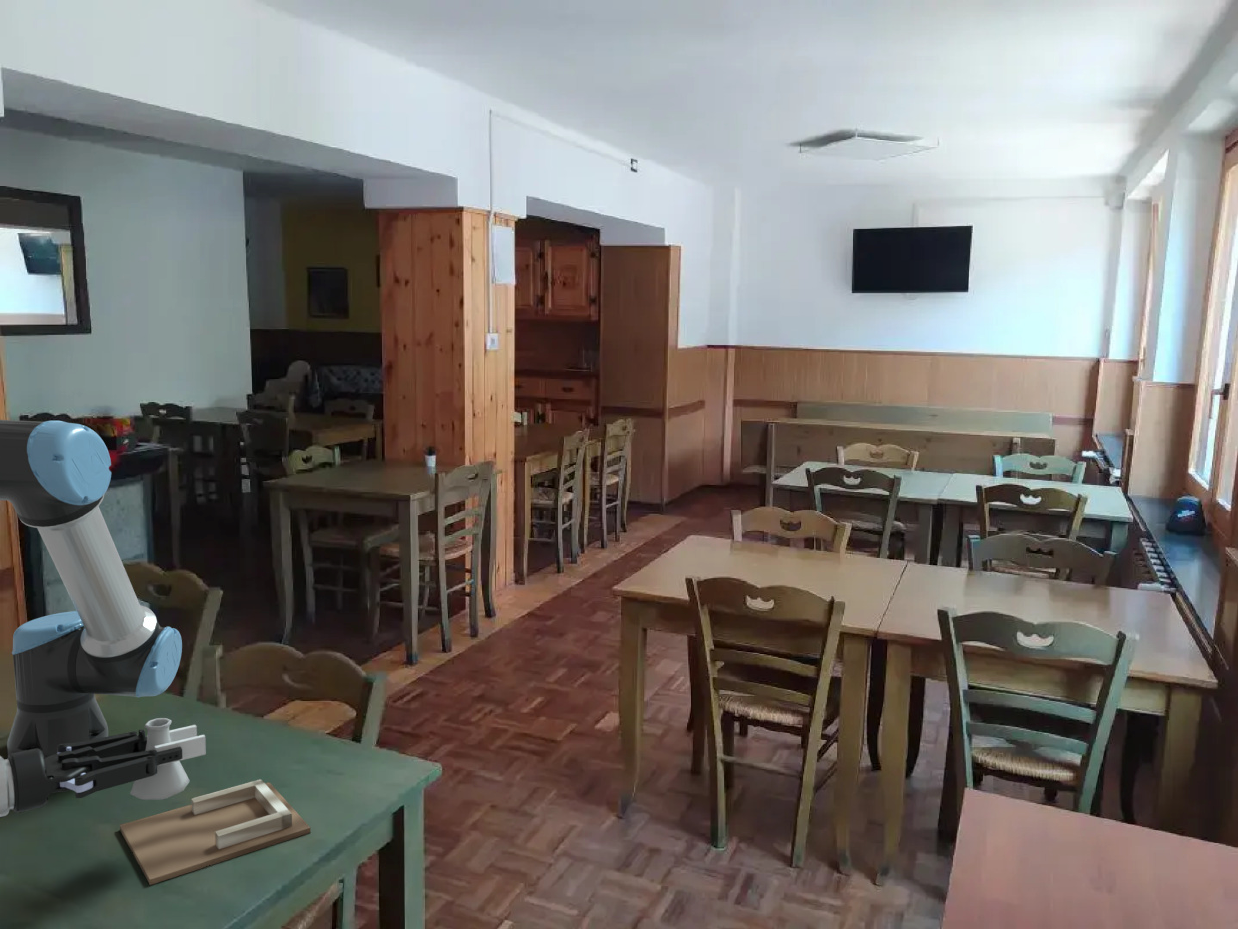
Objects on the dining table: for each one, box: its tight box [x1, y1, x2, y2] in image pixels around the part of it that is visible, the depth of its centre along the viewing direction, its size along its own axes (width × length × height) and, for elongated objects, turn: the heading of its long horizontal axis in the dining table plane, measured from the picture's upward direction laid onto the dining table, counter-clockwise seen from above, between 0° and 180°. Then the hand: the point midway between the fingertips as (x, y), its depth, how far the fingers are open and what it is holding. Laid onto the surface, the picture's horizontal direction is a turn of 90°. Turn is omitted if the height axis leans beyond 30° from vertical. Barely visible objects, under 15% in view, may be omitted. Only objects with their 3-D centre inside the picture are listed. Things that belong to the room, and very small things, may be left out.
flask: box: [129, 717, 190, 801], centre depth 133 cm, size 7×7×10 cm
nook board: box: [119, 778, 311, 886], centre depth 140 cm, size 17×22×3 cm
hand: (200, 739), depth 136 cm, fingers closed on flask, 3 cm apart
